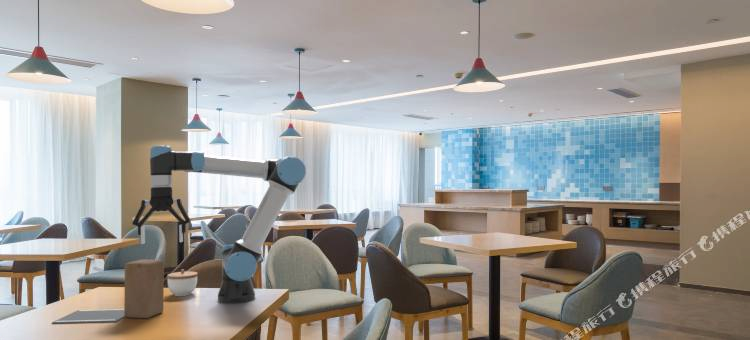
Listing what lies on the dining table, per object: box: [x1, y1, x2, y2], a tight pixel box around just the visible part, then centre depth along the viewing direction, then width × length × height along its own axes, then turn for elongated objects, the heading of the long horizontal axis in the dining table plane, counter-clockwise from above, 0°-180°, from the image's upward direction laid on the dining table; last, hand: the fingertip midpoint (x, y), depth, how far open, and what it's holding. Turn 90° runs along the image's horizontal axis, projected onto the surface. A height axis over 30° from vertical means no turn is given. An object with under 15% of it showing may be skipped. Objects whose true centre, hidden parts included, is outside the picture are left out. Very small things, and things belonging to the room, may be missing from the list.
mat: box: [51, 308, 126, 325], centre depth 183 cm, size 22×17×1 cm
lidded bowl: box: [166, 269, 199, 297], centre depth 220 cm, size 13×13×11 cm
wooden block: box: [123, 258, 165, 319], centre depth 185 cm, size 10×10×20 cm
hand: (162, 242), depth 188 cm, fingers open, 13 cm apart
